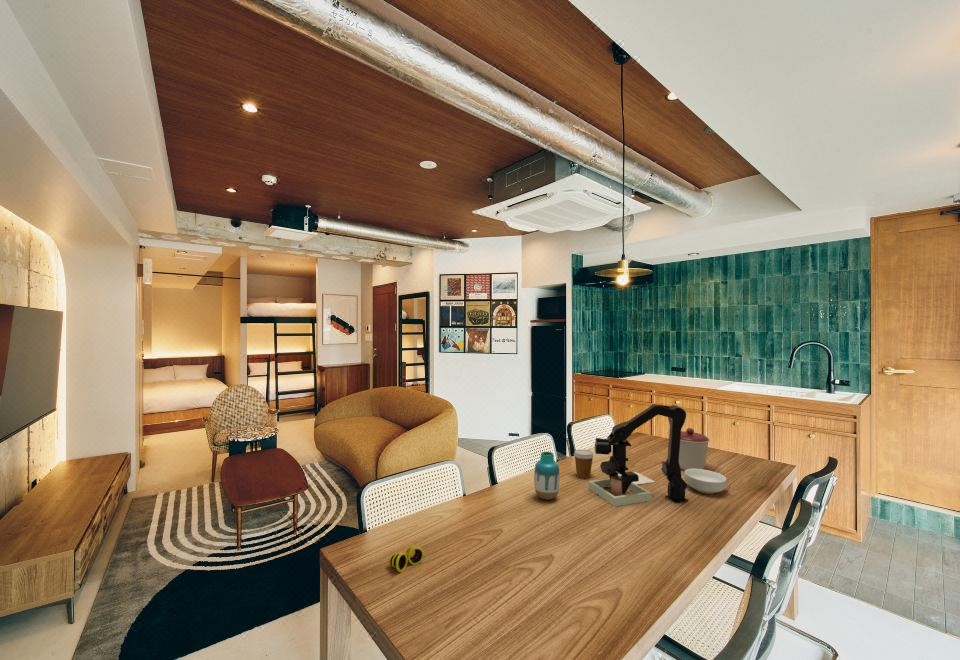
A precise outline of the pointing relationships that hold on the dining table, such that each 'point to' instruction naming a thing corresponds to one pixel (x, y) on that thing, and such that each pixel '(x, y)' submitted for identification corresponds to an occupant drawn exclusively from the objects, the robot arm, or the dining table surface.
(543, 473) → the vase
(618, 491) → the terracotta pot
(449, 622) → the dining table surface
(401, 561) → the opera glasses
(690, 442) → the canister
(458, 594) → the dining table surface
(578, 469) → the disposable coffee cup
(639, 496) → the shallow rimmed tray
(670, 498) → the robot arm
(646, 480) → the potting mat
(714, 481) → the cereal bowl
